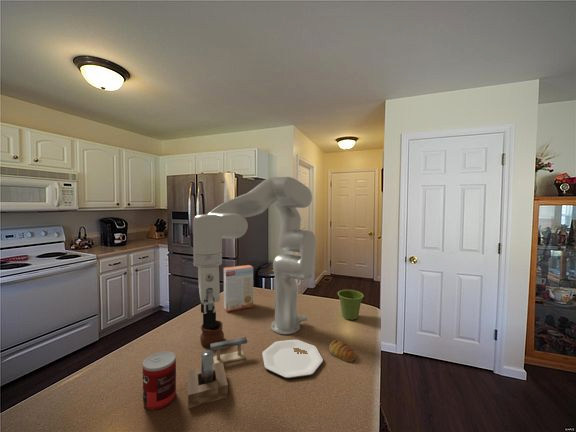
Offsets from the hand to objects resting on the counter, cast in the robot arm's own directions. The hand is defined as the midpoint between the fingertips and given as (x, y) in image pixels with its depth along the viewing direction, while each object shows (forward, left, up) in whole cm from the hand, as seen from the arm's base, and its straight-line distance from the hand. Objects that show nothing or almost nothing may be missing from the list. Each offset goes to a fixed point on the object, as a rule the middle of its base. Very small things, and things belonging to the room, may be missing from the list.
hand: (208, 319), depth 69 cm
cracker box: (-19, -52, -21) cm, 59 cm away
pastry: (-46, 0, -21) cm, 50 cm away
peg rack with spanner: (-8, -12, -20) cm, 25 cm away
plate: (-28, -4, -21) cm, 35 cm away
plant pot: (-66, -23, -20) cm, 73 cm away
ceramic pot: (-3, -24, -21) cm, 32 cm away
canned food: (+12, -1, -21) cm, 24 cm away
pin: (0, 0, -20) cm, 20 cm away
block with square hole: (0, 0, -20) cm, 20 cm away
